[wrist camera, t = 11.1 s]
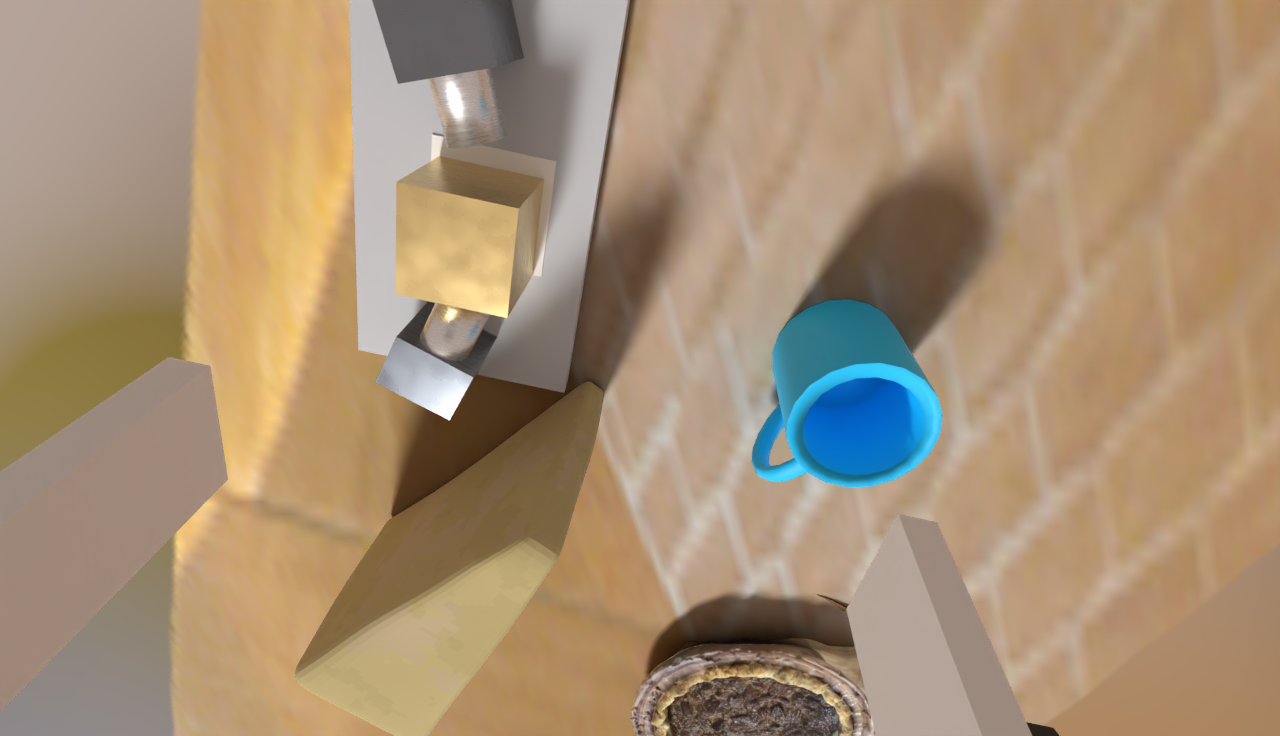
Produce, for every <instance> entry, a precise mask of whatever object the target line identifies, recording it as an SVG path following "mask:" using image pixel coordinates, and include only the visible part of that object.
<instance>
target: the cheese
mask: <svg viewBox="0 0 1280 736" xmlns="http://www.w3.org/2000/svg"><path fill="white" fill-rule="evenodd" d="M603 397H604V393H603V391H602V390H601V389H600V388H599V387H597V386H596V385H595V384H593V383H592V382H589V381H587V382H584V383H582V384H581V385H579V386H578V387H576V388H575V389H573V390H572V391H571V392H569V393H568V394H567V395H565V396H564V397H563V398H561V399H560V400H559V401H557V402H556V403H555V404H553V405H552V406H551V407H549V408H548V409H547V410H545V411H544V412H543V413H541V414H540V415H539V416H537V417H536V418H535V419H533V420H532V421H531V422H529V423H528V424H527V425H525V426H524V427H523V428H521V429H520V430H519V431H517V432H516V433H515V434H514V435H512V436H511V437H510V438H508V439H507V440H506V441H504V442H503V443H502V444H500V445H499V446H498V447H496V448H495V449H494V450H493V451H491V452H490V453H489V454H487V455H486V456H485V457H483V458H482V459H480V460H479V461H478V462H476V463H475V464H474V465H472V466H471V467H470V468H468V469H467V470H465V471H464V472H463V473H461V474H460V475H458V476H457V477H455V478H454V479H453V480H451V481H450V482H448V483H447V484H445V485H444V486H442V487H441V488H439V489H438V490H436V491H435V492H433V493H431V494H430V495H428V496H427V497H425V498H424V499H422V500H420V501H419V502H417V503H416V504H414V505H412V506H411V507H409V508H407V509H406V510H404V511H402V512H401V513H399V514H397V515H396V516H394V517H392V518H391V519H390V520H389V521H388V522H387V523H386V524H385V526H384V527H383V529H382V530H381V532H380V533H379V535H378V536H377V538H376V539H375V541H374V542H373V544H372V545H371V547H370V548H369V550H368V551H367V553H366V554H365V555H364V557H363V558H362V560H361V561H360V563H359V564H358V566H357V567H356V569H355V570H354V572H353V573H352V575H351V576H350V578H349V579H348V581H347V582H346V584H345V585H344V587H343V589H342V590H341V592H340V593H339V595H338V597H337V598H336V600H335V602H334V603H333V605H332V607H331V608H330V610H329V612H328V613H327V615H326V617H325V618H324V620H323V622H322V624H321V625H320V627H319V629H318V630H317V632H316V634H315V636H314V637H313V639H312V641H311V643H310V644H309V646H308V648H307V650H306V651H305V653H304V655H303V656H302V658H301V660H300V662H299V663H298V665H297V668H296V672H295V678H296V680H297V681H298V683H299V684H300V685H301V686H302V687H304V688H305V689H307V690H308V691H309V692H311V693H313V694H315V695H316V696H318V697H320V698H322V699H324V700H326V701H328V702H330V703H332V704H333V705H335V706H337V707H339V708H341V709H343V710H345V711H347V712H349V713H351V714H353V715H355V716H357V717H359V718H361V719H363V720H365V721H367V722H369V723H371V724H373V725H374V726H376V727H378V728H380V729H382V730H384V731H386V732H388V733H390V734H393V735H395V736H428V735H429V734H430V733H431V732H432V730H433V729H434V727H435V726H436V725H437V723H438V722H439V721H440V719H441V718H442V717H443V715H444V714H445V713H446V711H447V710H448V709H449V707H450V706H451V705H452V703H453V702H454V701H455V699H456V698H457V697H458V695H459V694H460V693H461V691H462V690H463V689H464V688H465V686H466V685H467V684H468V682H469V681H470V680H471V679H472V677H473V676H474V675H475V673H476V672H477V671H478V670H479V668H480V667H481V666H482V664H483V663H484V662H485V661H486V659H487V658H488V657H489V656H490V654H491V653H492V652H493V651H494V649H495V648H496V647H497V646H498V644H499V643H500V642H501V640H502V639H503V638H504V636H505V635H506V634H507V632H508V631H509V630H510V628H511V627H512V626H513V624H514V623H515V621H516V620H517V618H518V617H519V616H520V614H521V613H522V611H523V610H524V608H525V607H526V605H527V604H528V602H529V601H530V599H531V598H532V596H533V595H534V594H535V592H536V591H537V589H538V588H539V586H540V585H541V583H542V582H543V580H544V579H545V578H546V576H547V575H548V573H549V572H550V570H551V569H552V567H553V566H554V564H555V562H556V560H557V559H558V557H559V555H560V552H561V550H562V547H563V544H564V541H565V537H566V534H567V531H568V527H569V524H570V521H571V517H572V514H573V511H574V507H575V504H576V501H577V498H578V495H579V492H580V489H581V485H582V482H583V479H584V476H585V473H586V470H587V467H588V464H589V461H590V458H591V454H592V451H593V447H594V443H595V439H596V435H597V430H598V426H599V421H600V415H601V410H602V403H603Z"/></svg>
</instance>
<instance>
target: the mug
mask: <svg viewBox="0 0 1280 736" xmlns="http://www.w3.org/2000/svg"><path fill="white" fill-rule="evenodd" d="M773 373H774V378H775V383H776V388H777V393H778V398H779V405H778V406H777V407H776V408H775V410H774V411H773V412H772V413H771V415H770V416H769V417H768V419H767V420H766V422H765V423H764V425H763V427H762V429H761V430H760V432H759V434H758V436H757V439H756V441H755V444H754V446H753V452H752V464H753V467H754V469H755V471H756V473H757V474H758V475H759V476H760V477H762V478H764V479H766V480H768V481H771V482H779V481H788V480H791V479H793V478H795V477H798V476H800V475H803V474H805V473H806V472H808V473H809V474H811V475H813V476H815V477H817V478H819V479H820V480H822V481H824V482H826V483H831V484H835V485H840V486H845V487H866V486H874V485H878V484H881V483H885V482H888V481H892V480H895V479H896V478H898V477H900V476H902V475H904V474H905V473H907V472H909V471H911V470H913V469H914V468H915V467H916V466H917V465H918V464H919V463H920V462H921V461H922V460H923V459H924V458H926V457H927V456H928V455H929V454H930V452H931V450H932V448H933V447H934V445H935V443H936V441H937V439H938V437H939V435H940V430H941V423H942V411H941V408H940V404H939V400H938V397H937V395H936V393H935V391H934V390H933V388H932V386H931V385H930V383H929V381H928V380H927V378H926V376H925V375H924V373H923V371H922V370H921V368H920V366H919V365H918V363H917V362H916V360H915V358H914V357H913V355H912V353H911V352H910V350H909V348H908V347H907V345H906V343H905V342H904V340H903V338H902V337H901V335H900V333H899V332H898V330H897V328H896V327H895V326H894V324H893V323H892V322H891V321H890V319H889V318H888V317H887V316H886V314H885V313H883V312H881V311H880V310H878V309H876V308H875V307H873V306H872V305H870V304H868V303H863V302H859V301H854V300H850V299H845V300H830V301H825V302H822V303H819V304H817V305H814V306H811V307H808V308H806V309H805V310H804V311H802V312H801V313H799V314H798V315H796V316H795V317H794V318H792V319H791V320H790V321H789V322H788V324H787V325H786V326H785V327H784V329H783V330H782V331H781V333H780V334H779V335H778V338H777V341H776V344H775V347H774V349H773ZM783 427H785V432H786V437H787V442H788V444H789V447H790V449H791V452H792V454H793V456H794V458H793V459H791V460H789V461H787V462H785V463H782V464H780V465H775V466H770V464H769V454H770V451H771V449H772V446H773V443H774V441H775V439H776V438H777V436H778V434H779V433H780V431H781V429H782V428H783Z"/></svg>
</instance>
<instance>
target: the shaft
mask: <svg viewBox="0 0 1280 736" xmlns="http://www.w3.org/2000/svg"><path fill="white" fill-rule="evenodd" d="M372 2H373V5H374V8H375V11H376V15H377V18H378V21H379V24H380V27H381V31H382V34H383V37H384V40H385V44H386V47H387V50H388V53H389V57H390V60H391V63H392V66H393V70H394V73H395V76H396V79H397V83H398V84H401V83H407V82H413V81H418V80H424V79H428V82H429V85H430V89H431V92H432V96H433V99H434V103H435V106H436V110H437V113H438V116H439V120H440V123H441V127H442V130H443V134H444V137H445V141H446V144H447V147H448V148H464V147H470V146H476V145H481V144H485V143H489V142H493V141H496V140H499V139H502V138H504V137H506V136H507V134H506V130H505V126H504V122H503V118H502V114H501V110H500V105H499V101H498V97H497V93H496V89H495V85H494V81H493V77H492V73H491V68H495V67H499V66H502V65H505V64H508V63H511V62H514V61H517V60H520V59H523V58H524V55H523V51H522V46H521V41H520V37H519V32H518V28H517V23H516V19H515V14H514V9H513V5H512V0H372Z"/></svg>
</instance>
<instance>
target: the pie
mask: <svg viewBox="0 0 1280 736" xmlns="http://www.w3.org/2000/svg"><path fill="white" fill-rule="evenodd" d="M820 597H822V596H820ZM823 598H824V599H826V598H825V597H823ZM826 600H828V601H830V602H832V603H834V604H835V605H837V606H838V607H839V608H840V609H842V610H843V611H847V610H846V609H847V608H845V607H844V606H842V605H840V604H838V603H836V602H834V601H832V600H829V599H826ZM630 720H631V721H632V722H633V723H634V726H633V731H634V732H635V736H876V734H875V729H874V725H873V721H872V717H871V712H870V708H869V704H868V700H867V695H866V691H865V687H864V683H863V678H862V674H861V670H860V666H859V661H858V657H857V653H856V649H855V645H854V647H848V646H847V647H838V646H827V645H825V644H822V643H820V642H817V641H814V640H811V639H805V638H788V639H782V640H777V641H773V640H766V641H765V642H764V641H761V640H759V639H749V638H743V639H740V640H731V641H722V642H717V641H710V642H706V643H699V642H696V641H690V642H688V643H686V644H684V645H683V646H682V647H681V649H679V650H678V653H677V654H675V655H674V656H672V657H670V658H669V659H667V660H666V661H664V662H662V663H661V664H660V665H658V666H657V667H656V668H654V669H653V670H652V672H651V673H649V675H648V676H647V677H646V678H645V679H644V680H643V682H642V683H641V684H640V686H639V688H638V690H637V692H636V694H635V698H634V702H633V708H632V718H630Z"/></svg>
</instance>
